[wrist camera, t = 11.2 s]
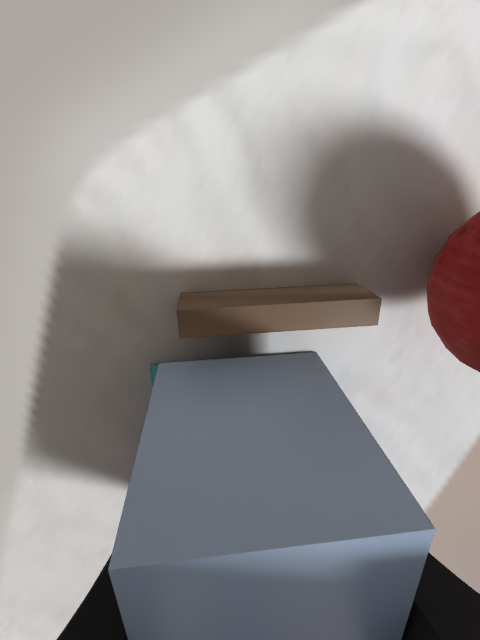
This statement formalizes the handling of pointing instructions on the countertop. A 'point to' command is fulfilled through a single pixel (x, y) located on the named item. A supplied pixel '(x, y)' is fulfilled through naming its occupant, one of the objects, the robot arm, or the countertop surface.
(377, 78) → the countertop surface
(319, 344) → the countertop surface
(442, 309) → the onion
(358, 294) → the brown cuboid
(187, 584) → the matte gray cuboid
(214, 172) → the countertop surface
